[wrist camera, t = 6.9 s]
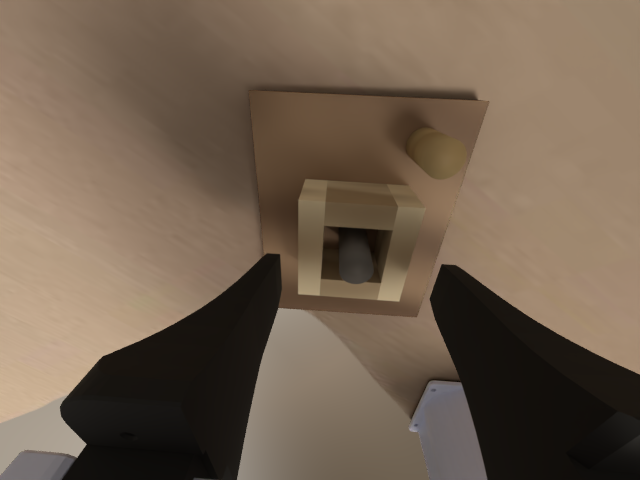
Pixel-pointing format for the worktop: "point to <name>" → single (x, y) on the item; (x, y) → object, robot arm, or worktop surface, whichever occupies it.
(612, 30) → the worktop surface
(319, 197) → the ring
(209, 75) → the worktop surface
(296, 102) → the post board
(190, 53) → the worktop surface
